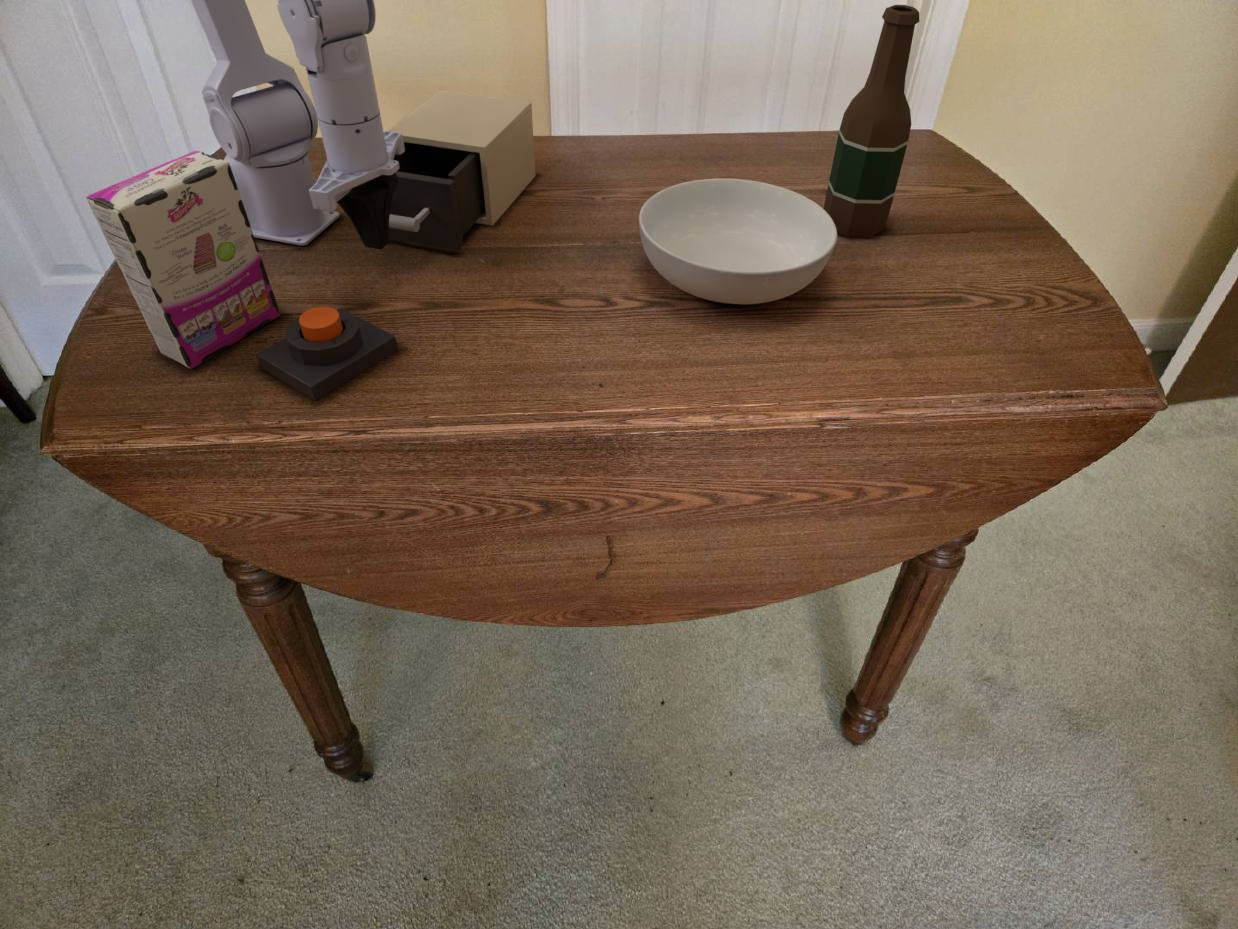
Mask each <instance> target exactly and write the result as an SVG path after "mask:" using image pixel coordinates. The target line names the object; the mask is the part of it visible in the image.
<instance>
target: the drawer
mask: <svg viewBox="0 0 1238 929" xmlns="http://www.w3.org/2000/svg"><path fill="white" fill-rule="evenodd" d="M404 147H405V152H403V153H402V154H401V155H397V154H395V156H394V159H393V160H396V161H398V162H399V167H400V168H399V170H397V171H396V172H395V173H396V174H397V177H398V184H397V187H396V189H395V192H394V195H393V199H392V203H391V209H390V217H389V232H388V240H389V239H390V240H395V241H400V242H407V243H411V244H412V243H414V244H418V245H424V246H429V247H435V248H441V249H446V250H447V249H448V250H453V251H460V250H461V249H462V248H463V247H464V244H463V236H464V235H465V234H466V233H467V232H468V231H469V230H470V228H472V226H474V224H476V223H475V222H476V221H477V220H478V218H479V217H480V216H481V215H482V214H483V213H484V212H485V211H486V210H485V200H484V191H483V181H482V171H481V162H480V153H476V152H469V151H462V150H456V149H449V148H442V147H435V146H428V145H421V144H414V143H407V142H404Z"/></svg>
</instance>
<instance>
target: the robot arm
mask: <svg viewBox="0 0 1238 929" xmlns="http://www.w3.org/2000/svg"><path fill="white" fill-rule="evenodd" d="M190 1H191V3H192V7H193V8H194V12H195V13H196V16H197V18H198V21H199V23H200V25H201V27H202V30H203V32H204V34H205V37H206V39H207V41H208V44H209V46H210V49H211V51H212V54H213V55H214V58H215V61H216V64H215V66H214V68H213V69H212V71H211V72H210V74H209V76H208V78H207V79H206V81H205V83H204V85H203V87H202V89H201V94H202V99H203V102H204V104H205V107H206V110H207V114H208V118H209V123H210V128H211V130H212V132H213V135H214V138H215V139H216V141H217V143H218V145H219V146H220V147H221V149H222V150H223V152H224V153H225V154H226V155H225V156H224V159H223V160H225V161H228V162H229V164H230V167H231V170H232V172H233V175H234V178H235V181H236V184H237V188H238V191H239V193H240V196H241V199H242V202H243V205H244V208H245V211H246V214H247V217H248V220H249V223H250V226H251V229H252V231H253V235H254V238H255V239H263V240H268V241H274V242H279V243H285V244H289V245H296V246H302V247H304V246H307V245H309V243H311V242H312V241H313V240H315V239H316V238H317V237H318V236H319V235H320V234H321V233H322V232H323V231H325V230H326V229H327V228H328V227H329V226H331V225H332V224H333V223H334V222H335V221H336V220H338V219H339V218H340V216H341V215H340V212H338V211H336V210H337V208H338V205H339V207H340V208H341V209H342V210H343V211H344V213H345V214H346V216H347V217H348V219H349V220H350V222H351V223H352V225H353V227H354V228H355V230H356V232H357V235H358V236H359V238H360V240H361V243H362V244H363V246H364V247H365V248H369V249H375V250H383V249H384V248H385V247H386V246H387V245H388V242H389V238H388V232H389V217H390V209H391V203H392V199H393V195H394V192H395V189H396V187H397V184H398V177H397V174H396V173H395V172H396V171H397V170H399V168H400V167H399V162H398V161H396V160H393V159H394V156H395V154H397V155H401V154H402V153H403V152H405V147H404V141H403V135H402V133H397V132H390V131H388V130H384V128H383V121H382V117H381V111H380V105H379V99H378V94H377V89H376V83H375V78H374V72H373V66H372V62H371V55H370V50H369V44H368V40H367V36H366V35H369V34H370V33H372V32H373V30H374V28H375V25H376V18H377V16H376V15H377V14H376V6H375V5H376V4H375V1H374V0H277V4H276V7H277V11H278V14H279V17H280V20H281V22H282V24H283V26H284V28H285V30H286V32H287V34H288V35H289V38H290V40H291V42H292V45H293V49H294V52H295V56H296V57H295V58H297V60H298V63H299V65H301V66H302V67H304V68H305V72H306V75H307V80H308V83H309V87H310V88H309V89H310V92H311V96H312V99H311V97H310V96H309V94H308V93H307V92H306V90H305V88H304V86H303V85H302V83H301V81H300V78H299V77H298V74H297V72H296V70H295V69H294V67H292V66H291V65H289V64H287V63H285V62H283V61H281V60H279V59H277V58H276V57H273V56H271V55H270V54H268V53H266V51H265V48H264V46H263V42H262V40H261V38H260V35H259V33H258V31H257V28H256V25H255V22H254V20H253V17H252V14H251V12H250V10H249V8H248V4H247V2H246V0H190ZM264 84H270V85H271V86H269V87H266V88H265V87H264V88H261V89H259V90H258V89H257V90H254V91H250V92H246V93H243V94H240V95H236V96H234V95H235V94H236V93H238V92H240V91H243V90H246V89H250V88H253V87H257V86H261V85H264ZM312 100H313V101H312ZM318 129H319V130H320V134H321V138H322V142H323V147H324V152H325V156H326V161H325V163H324V165H323V167H322V169H321V172H320V174H319V176H318V177H317V180H316V179H315V174H314V171H313V167H312V162H311V159H310V156H309V151H311V150H313V149H314V147H313V142H312V140H315V138H316V137H317V135H318Z"/></svg>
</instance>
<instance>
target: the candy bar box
mask: <svg viewBox="0 0 1238 929" xmlns="http://www.w3.org/2000/svg"><path fill="white" fill-rule="evenodd" d="M85 198H86V200H87V203H88V204H89V206H90V209H91V211H92V213H93V215H94V217H95V219H96V221H97V223H98V226H99V227H100V229H101V232H102V233H103V236H104V237H105V240H106V242H107V244H108V246H109V248H110V250H111V252H112V255H113V257H114V259H115V261H116V263H117V265H118V267H119V269H120V270H121V273H122V275H123V277H124V280H125V282H126V284H127V286H128V288H129V291H130V292H131V294H132V295H131V296H133V298H134V300H135V303H136V304H137V307H138V309H139V311H140V313H141V315H142V317H143V319H144V321H145V324H146V325H147V328H148V330H149V332H150V334H151V336H152V339H153V341H154V342H155V344H156V346H157V350H159V352H160V354H161V355H163V356H164V357H166V358H168V359H170V360H172V361H175V362H176V363H178V364H180V365H182V366H183V367H185V368H187V369H189V370H192V369H195V368H197V367H198V366H200V365H201V364H203V363H205V362H207V361H208V360H210V359H211V358H213V357H216V355H219V354H220V353H221V352H224V351H225V350H227V349H228V348H229V347H231V346H233V345H234V344H236V343H238V342H240V341H241V340H243V339H245V338H246V337H248V336H250V335H251V334H252V333H254V332H256V331H258V330H259V329H261V328H262V327H264V326H266V325H267V324H269V323H271V322H272V321H274V320H276V319H277V318H279V317H280V316H281V311H280V309H279V306H278V303H277V300H276V297H275V294H274V291H273V288H272V285H271V282H270V279H269V276H268V273H267V270H266V267H265V264H264V261H263V258H262V256H261V252H260V250H259V247H258V244H257V242H256V237H254V235H253V231H252V229H251V226H250V223H249V220H248V217H247V214H246V211H245V208H244V205H243V202H242V199H241V196H240V193H239V191H238V188H237V184H236V181H235V178H234V175H233V172H232V170H231V167H230V164H229V162H228V161H225V160H224V159H222V158H219V157H216V156H213V155H211V154H209V153H207V154H205V152H204V151H200V150H193V151H192V152H189V153H187V154H184V155H181V156H179V157H176V158H175V159H172V160H170V161H169V160H168V161H167V162H164V163H162V164H160V165H158V166H154V167H153V168H150V169H148V170H146V171H143V172H141V173H138V174H136V175H133V176H131V177H129V178H126V179H124V180H121V181H120V182H117V183H115V184H112V185H110V186H108V187H105V188H103V189H100V190H98V191H96V192H93V193H90V194H88V195H86V196H85Z"/></svg>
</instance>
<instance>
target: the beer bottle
mask: <svg viewBox="0 0 1238 929" xmlns="http://www.w3.org/2000/svg"><path fill="white" fill-rule="evenodd" d="M881 18H882V20H883V24H882V28H881V31H880V35H879V38H878V42H877V45H876V49H875V53H874V56H873V60H872V64H871V67H870V70H869V74H868V76H867V79H866V81H865V84H864V86H863V87H862V88H861V89H860V91H859V92H857V94H856V95H855V96H854V97H853V98H852V99H851V100H850V103H849V104H848V106H847V107H846V109H845V111H844V113H843V114H842V115H843V116H842V119H841V122H840V127H839V131H838V135H837V139H836V145H835V149H834V155H833V159H832V163H831V164H832V165H831V168H830V169H831V170H830V174H829V180H828V183H827V189H826V193H825V199H824V204H823V209H824V210H825V211H826V212H827V213H828V214H829V216H830V217H831V218H832V220H833V222H834V224H835V226H836V229H837V235H841V236H843V237H845V238H856V239H857V238H858V239H859V238H865V239H867V238H869V239H871V238H872V237H874V236H875V235H877V234H878V233H880V232H882V231H883V230H884V229H885V227H886V225H887V222H888V218H889V215H890V213H891V210H892V209H891V208H892V205H893V200H894V197H895V194H896V190H897V186H898V182H899V178H900V175H901V172H902V171H901V170H902V167H903V162H904V160H905V155H906V152H907V149H908V148H907V147H908V144H909V139H910V134H911V128H912V116H911V108H910V104H909V102H908V99H907V96H906V93H905V88H906V76H907V72H908V66H909V61H910V54H911V49H912V44H913V39H914V34H915V28H916V25H917V24H918V23H920V11H919V10H918V9H917V8H916V7H914V6H910V5H906V4H893V5H891V6H888V7H886V8H885V10H884V12H883V13H882V16H881Z"/></svg>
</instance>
